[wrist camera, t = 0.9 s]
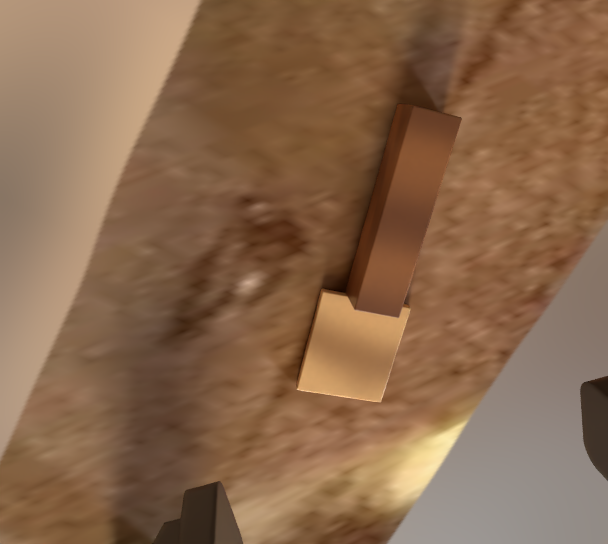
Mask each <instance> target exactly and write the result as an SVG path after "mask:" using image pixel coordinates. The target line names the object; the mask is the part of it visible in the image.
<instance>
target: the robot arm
mask: <svg viewBox="0 0 608 544" xmlns="http://www.w3.org/2000/svg"><path fill="white" fill-rule="evenodd" d="M580 392H581V393H580V394H581V409H582V425H583V439H584V445H585V448H586V451H587V454H588V455H589V458H590V460H591V461H592V463H593V465H594V466H595V467H596V469H597V470H598V471H599V472H600V473H601V474H602V475H603V476H604V477H605V478H606V480H608V376H606V377H602V378H598V379H595V380H591V381H588V382H584V383H583V384H582V386H581V391H580ZM152 544H243V541H242V537H241V534H240V531H239V528H238V526H237V523H236V520H235V517H234V514H233V512H232V509H231V506H230V503H229V501H228V498H227V495H226V492H225V489H224V487H223V485H222V483H221V482H220V481H218V482H214V483H211V484H207V485H204V486H200V487H196V488H193V489H189V490H186V491H185V493H184V497H183V505H182V512H181V518H180V519H177V520H173V521H169V522H166V523H164V525H163V526H162V528H161V530H160V531H159V533H158V535H157V536H156V538H155V540H154V542H153V543H152Z"/></svg>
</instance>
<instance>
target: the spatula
mask: <svg viewBox="0 0 608 544" xmlns="http://www.w3.org/2000/svg"><path fill="white" fill-rule="evenodd" d="M461 120H462V118H461V117H457V116H453V115H449V114H445V113H442V112H438V111H434V110H430V109H426V108H422V107H419V106H415V105H406V104H398V105H397V108H396V112H395V115H394V119H393V123H392V126H391V130H390V133H389V137H388V141H387V144H386V148H385V151H384V155H383V158H382V162H381V166H380V169H379V173H378V176H377V180H376V184H375V187H374V191H373V194H372V198H371V202H370V205H369V209H368V212H367V216H366V219H365V223H364V227H363V230H362V234H361V237H360V241H359V245H358V248H357V252H356V255H355V259H354V262H353V266H352V270H351V273H350V277H349V280H348V284H347V288H346V291H345V293H342V292H337V291H332V290H326V289H322V290H321V293H320V297H319V301H318V305H317V308H316V312H315V316H314V320H313V323H312V327H311V331H310V335H309V339H308V342H307V346H306V350H305V354H304V357H303V361H302V365H301V369H300V373H299V376H298V380H297V384H296V387H297V390H302V391H308V392H315V393H322V394H328V395H335V396H341V397H348V398H355V399H361V400H368V401H375V402H381V400H382V397H383V393H384V390H385V387H386V384H387V381H388V378H389V375H390V372H391V369H392V365H393V362H394V359H395V356H396V353H397V350H398V347H399V344H400V340H401V337H402V334H403V331H404V328H405V325H406V322H407V319H408V315H409V312H410V309H411V308H410V306H409V305H406V304H404V301H405V298H406V294H407V291H408V288H409V285H410V282H411V279H412V275H413V272H414V269H415V266H416V263H417V259H418V256H419V253H420V250H421V247H422V244H423V240H424V237H425V234H426V231H427V228H428V225H429V221H430V218H431V215H432V212H433V209H434V206H435V202H436V199H437V196H438V193H439V190H440V187H441V183H442V180H443V177H444V174H445V171H446V168H447V164H448V161H449V158H450V155H451V152H452V148H453V145H454V142H455V139H456V136H457V133H458V129H459V126H460V123H461Z"/></svg>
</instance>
